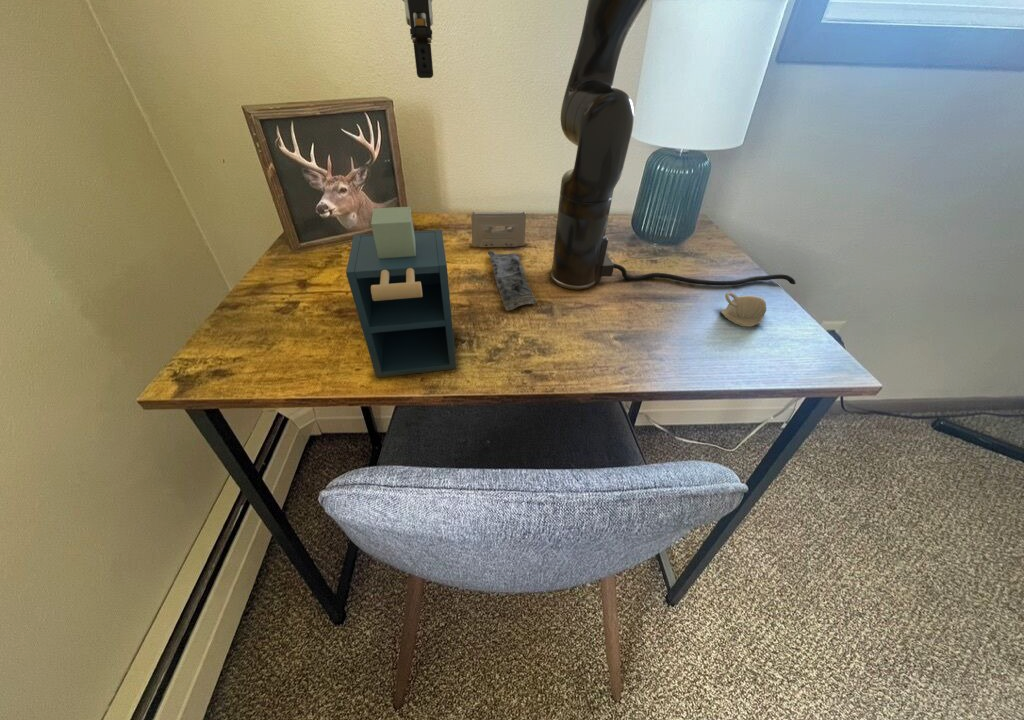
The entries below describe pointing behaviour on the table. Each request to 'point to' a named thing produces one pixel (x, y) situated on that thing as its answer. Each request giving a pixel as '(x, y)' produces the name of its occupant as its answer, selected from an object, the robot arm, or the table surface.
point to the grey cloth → (511, 280)
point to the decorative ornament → (745, 309)
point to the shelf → (404, 305)
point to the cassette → (498, 237)
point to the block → (393, 232)
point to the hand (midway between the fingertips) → (424, 72)
